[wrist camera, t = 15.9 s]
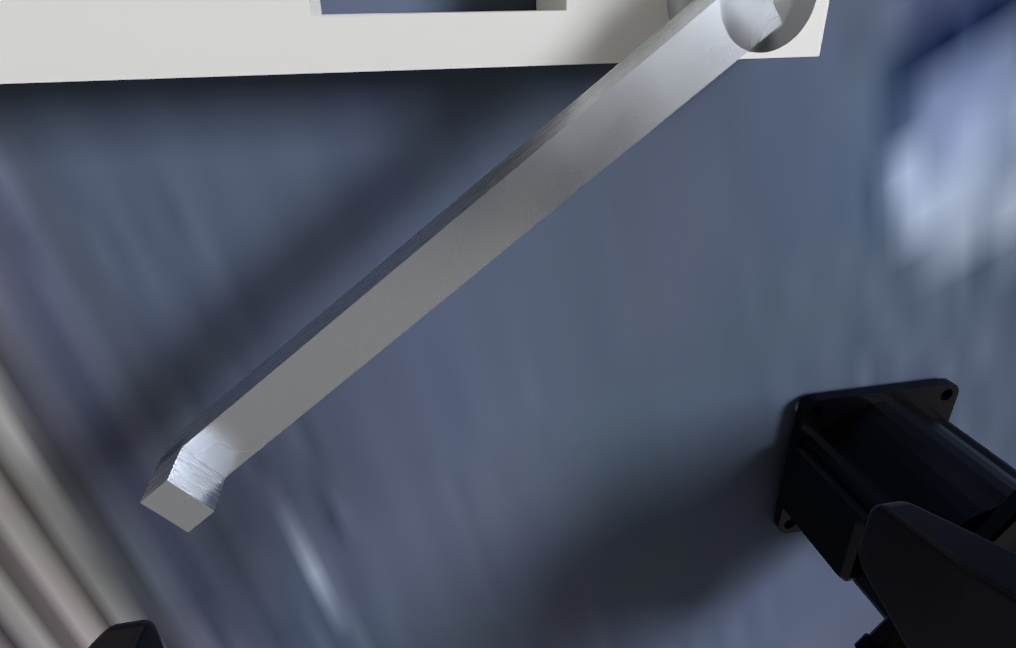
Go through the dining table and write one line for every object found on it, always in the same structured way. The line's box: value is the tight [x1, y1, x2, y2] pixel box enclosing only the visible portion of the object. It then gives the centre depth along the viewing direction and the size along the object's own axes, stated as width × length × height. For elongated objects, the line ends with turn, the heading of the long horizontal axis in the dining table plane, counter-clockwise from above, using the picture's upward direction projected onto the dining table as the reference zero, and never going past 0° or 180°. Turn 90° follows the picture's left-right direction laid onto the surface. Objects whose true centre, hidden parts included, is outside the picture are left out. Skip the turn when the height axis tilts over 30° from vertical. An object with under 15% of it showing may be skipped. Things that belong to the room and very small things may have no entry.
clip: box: [140, 0, 816, 532], centre depth 13 cm, size 17×2×2 cm, turn 128°
